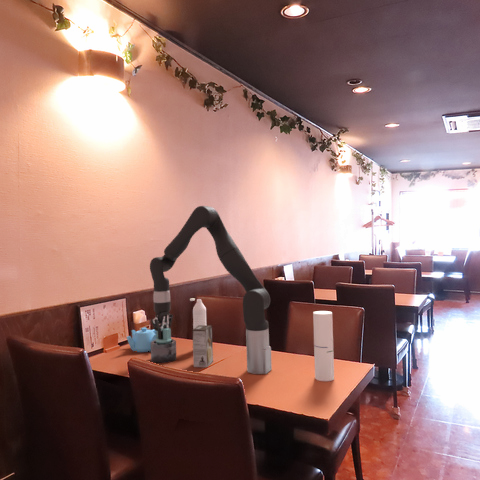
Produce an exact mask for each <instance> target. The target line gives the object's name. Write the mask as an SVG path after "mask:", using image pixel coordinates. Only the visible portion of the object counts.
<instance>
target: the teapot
mask: <svg viewBox="0 0 480 480" xmlns="http://www.w3.org/2000/svg"><path fill="white" fill-rule="evenodd" d="M130 331H131V335H129V336H126V339H127V342H128V345H129V347H130V349H131V351H132V352H134V351H137V352H136V353H148V351H149V352H151V342H152V341H154V340H156V331H155V330H154V328H153V329H148V328H147V327H145V326H144V327H141V329H140V330H137V331H136V330H135V329H132V330H130Z"/></svg>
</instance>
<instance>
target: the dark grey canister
mask: <svg viewBox="0 0 480 480" xmlns="http://www.w3.org/2000/svg"><path fill="white" fill-rule="evenodd" d="M176 360H177V340H176V339H175V338H171V342H170V343H167V344H158V343H156V340H154V341H152V342H151V351H150V362H151V363H155V364H165V363H167V364H168V363H172V362H175V361H176ZM156 362H157V363H156Z"/></svg>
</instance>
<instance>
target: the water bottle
mask: <svg viewBox="0 0 480 480" xmlns="http://www.w3.org/2000/svg"><path fill="white" fill-rule="evenodd" d="M195 300H196V303H195V304H194V306H193V309H192V319H193V320H192V321H193V322H192V326H193V327H192V328H193V329H194V328H196V327H197V326H198V325H208V324H207V307H206V306H205V305H204V303H203V300H202V299H201V298H197V299H196V298H194V297H192V298H189V301H190V302H193V301H194V302H195ZM193 329H192V330H193Z"/></svg>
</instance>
